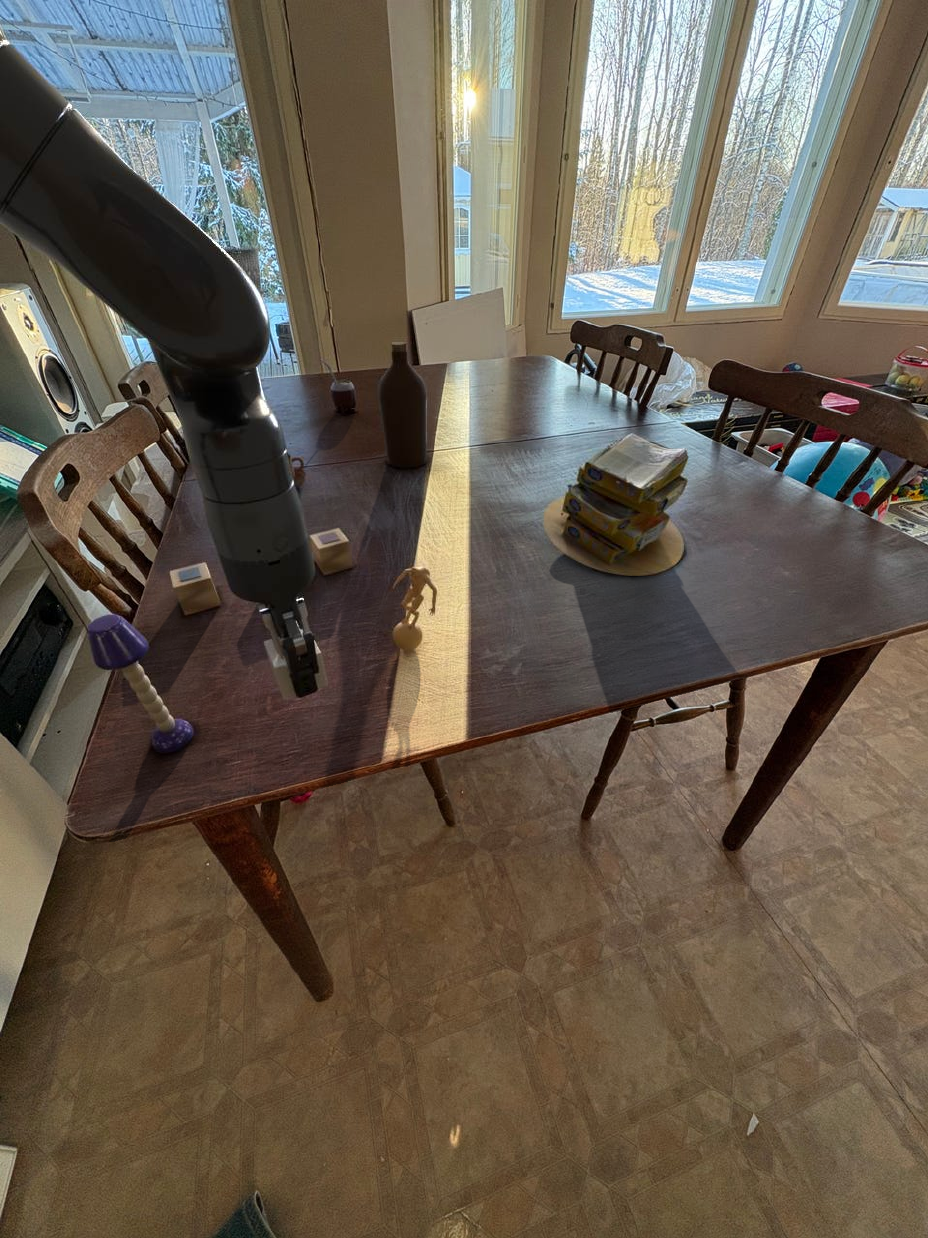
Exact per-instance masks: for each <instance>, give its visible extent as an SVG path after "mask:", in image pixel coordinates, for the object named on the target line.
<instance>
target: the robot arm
mask: <svg viewBox="0 0 928 1238" xmlns="http://www.w3.org/2000/svg"><path fill="white" fill-rule="evenodd" d="M0 225H1V226H3V227H4V228H6V229H7V230H8V231H10V232H11V233H12V234H14V235H15V236H17V237H18V238H19V239H21V240H22V241H24V242H25V243H27V244H28V245H29V246H31V247H32V248H34V249H35V250H37V251H38V252H39V253H41V254H42V255H44V256H46V257H47V258H49V259H50V260H52V261H53V262H55V263H57V264H58V265H59V266H61V267H62V268H63V269H65V270H66V271H67V272H68V273H69V274H70V275H72V276H73V277H74V278H75V279H76V280H77V281H78V282H79V283H81V285H83V286H84V287H85V288H86V289H88V291H89V292H90V293H92V294H93V295H95V296H96V298H98V299H99V301H101V302H102V303H104V304H105V305H106V306H107V307H108V308H109V309H110V310H112V311H113V312H114V313H115V314H116V315H117V316H118V317H120V318H121V319H122V320H124V321H125V322H126V323H127V324H128V325H129V326H130V327H132V328H133V329H134V330H135V331H136V332H138V333H139V334H140V335H141V336H142V337H144V338H145V339H146V340H147V342H148V345H149V347H150V350H151V352H152V355H153V358H154V360H155V363H156V365H157V368H158V370H159V373H160V375H161V378H162V380H163V383H164V384H165V387H166V389H167V392H168V394H169V397H170V399H171V402H172V404H173V406H174V408H175V411H176V413H177V416H178V419H179V423H180V427H181V430H182V434H183V438H184V442H185V448H186V451H187V455H188V459H189V460H190V461H189V462H190V464H191V467H192V470H193V473H194V476H195V479H196V482H197V485H198V489H199V491H200V494H201V499H202V502H203V508H204V513H205V519H206V523H207V525H208V529H209V533H210V534H211V538H212V541H213V544H214V547H215V550H216V552H217V555H218V558H219V561H220V564H221V567H222V571H223V573H224V576H225V579H226V583H227V585H228V588H229V590H230V591H231V593H232V594H233V595H234V596H236V597H237V598H239V599H241V600H243V601H246V602H250V603H255V605H256V608H257V610H258V613H259V614H260V616H261V619H262V623H263V624H264V627H265V628H266V629H268V632H269V634H270V638H271V639H272V641H273V644H274V647H275V649H276V651H277V653H278V654H279V655H283V657H284V660H285V663H286V666H287V667H285V668H286V671H287V672H289V676H290V678H291V681H292V684H293V688H294V691H295V694H296V696H297V697H296V698H298V699H301V698H305V697H307V696H310V695H313V694H315V693H317V692H318V690H319V689H318V687H317V683H316V679H315V674H317V673H319V666H318V662H317V655H316V649H315V643H316V641H315V640H316V638H315V635H314V634H313V633H312V631H311V629H310V625H309V622H308V616H309V613H308V608H307V605H306V603H305V600H304V598H303V597H301V598H300V594H301V593H302V592H303V591H305V590H306V589H307V588H309V586H310V585H311V583H313V581H314V579H315V575H316V567H315V561H314V556H313V551H312V546H311V541H310V537H309V533H308V529H307V528H308V527H307V523H306V518H305V513H304V508H303V504H302V501H301V498H300V496H299V494H298V491H297V488H296V487H295V484H294V480H293V475H292V471H291V466H290V461H289V456H288V454H289V452H288V447H287V444H286V443H287V442H286V439H285V435H284V431H283V429H282V425H281V423H280V420H279V418H278V416H277V414H276V413H275V411H274V410H273V408H272V406H271V405H270V404H269V402H268V399H267V398H266V395H265V391H264V388H263V384H262V380H261V379H262V378H261V376H260V372H259V367H258V366H259V365H260V364H261V363H262V362H263V360H264V358H265V357H266V354H267V352H268V349H269V345H270V343H271V342H270V340H271V322H270V316H269V312H268V309H267V305H266V303H265V301H264V298H263V297H262V296H263V295H262V294H261V292H260V290H259V288H258V287H257V286H256V284H255V283H254V281H253V280H252V278H251V277H250V276H249V274H248V273H246V271H245V270H244V269H243V268H242V267H241V266H240V265H239V263H237V262H236V260H235V259H233V257H231V255H229V254H228V253H227V251H225V250H224V249H223V248H222V247H221V246H220V245H219V244H218V243H217V241H215V240H214V239H212V237H210V236H209V235H208V234H207V233H206V232H205V231H204V230H203V229H201V227H200V226H198V225H197V224H196V223H195V222H194V221H193V220H191V218H189V216H187V215H186V214H185V213H184V212H183V211H181V209H179V208H178V207H177V206H176V205H175V204H173V202H171V201H170V200H169V199H168V198H166V196H164V195H163V194H162V193H161V192H160V191H159V190H157V189H156V188H155V187H154V186H153V185H151V183H149V182H148V181H147V180H146V179H145V178H143V177H142V176H141V175H139V174H138V173H137V172H136V171H135V170H134V169H133V168H132V167H130V165H128V163H126V162H125V161H124V160H123V159H122V158H121V157H120V156H119V155H118V154H117V152H116V151H115V150H114V149H113V148H112V147H111V146H110V145H109V144H108V143H107V141H106V140H105V139H104V138H103V137H102V136H101V134H100V133H99V132H98V131H97V130H96V129H95V128H94V127H93V125H92V124H90V123H89V122H88V120H87V119H86V118H85V117H84V116H83V115H82V113H80V112H79V111H78V109H76V108H72V104H71V103H70V102H69V101H68V100H67V99H66V98H65V97H64V96H63V95H62V94H61V93H60V92H59V91H58V90H57V89H56V88H55V87H54V86H53V85H52V83H50V81H48V80H47V79H46V78H45V77H44V76H43V75H42V74H41V73H40V72H39V71H38V70H37V69H36V68H35V67H34V66H33V65H32V64H31V63H30V62H29V61H28V60H27V59H26V58H25V56H23V55H22V54H21V53H20V52H19V51H18V50H17V49H16V48H15V47H14V46H13V45H12V44H11V43H10V41H8V39H7V38H6V37H4V36H3V34H2V33H0ZM301 630H303V633H301ZM278 637H279V638H280V639H281V638H284V639H283V640H282V641H283V642H280V641H279V638H278ZM289 637H290V638H289ZM285 638H286V639H285ZM314 641H315V642H314Z"/></svg>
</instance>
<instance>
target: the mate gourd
mask: <svg viewBox="0 0 928 1238" xmlns="http://www.w3.org/2000/svg"><path fill="white" fill-rule="evenodd" d="M318 360H319V361H321V362H322V363H323V364H324V365H325V366H326V367H327V369H328V371H329V373H330V375H331V378H332V379H333V381H334V382H332V384H331V387H330V395H331V399H332V402H333V405H334V407H335V410H334V411H335V412H336V413H341V416H345V415H346V414H347V413H357V409H356V407H357V392H356V389H355V386H354V384H353V383H352V382H351V381H350V380H336V377H335V375H334V373H333V370H332V367H331V366H330V365H329V364H328V363H327V362H326V361H324V360H323V359H321V358H319V359H318ZM336 407H337V408H336ZM351 408H355V409H351ZM346 409H347V410H346Z"/></svg>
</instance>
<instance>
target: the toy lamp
mask: <svg viewBox="0 0 928 1238" xmlns="http://www.w3.org/2000/svg"><path fill="white" fill-rule="evenodd" d="M86 634H87V638H88V642H89V647H90V652H91V655H92V659H93V662H94V664H95V665H96V666H97V667H98V668H99V669H101V670H103V671H116V670H117V671H118V670H122V674H123V677H124V678H125V679H126V681H128V682H129V686H130V688H131V689H132V690H133V691H134V692H135V694H136V697H137V699H138V700H139V702H141V703H142V706H143V708H144V710H145V711H147V712H148V714H149V717H150V719H151V720H152V721H153V722H155V726H156V727H155V729H154V731H153V733H152V735H151V745H152V748H153V749H154V750H155V751H156V752H158V753H161V754H170V753H174V752H176V751H179V750H181V749H182V748H184V747H185V746H186V745H187V744H188V743H189V742H190V741H191V739H192V738H193V736H194V733H195V732H194V728H193V727H194V726H193V725H192V724H191V723H189V722H188V721H187V720H185V719H181V718H173V716H172V715H171V714H170V712H169V710H168V708H167V706H166V705H164V702H163V701H164V700H163V699H162V698H161V696H160V695H158V693H157V692H158V691H157V690H156V688H155V687H154V686H153V685H152V684H151V680H150V678H149V677H148V676H147V675H146V674H145V670H144V668H143V666H141V665H140V664H139V661H140V660H141V659H142V658H143V657H144V656H146V654H147V652H148V650H149V642H148V639H146V637H145V636H144V635H143V634H141V633H140V632H139V631H138V630H137V629H136V628H135V627H134V626H133V625H132V624H131V623H130V622H128V621H127V620H126V619H125V618H124V617H123V616H121V615H119V614H116V613H112V614H111V613H110V614H104V615H101V616H99V617H96V618H95V619H94V620H92V621H91V622H90V623H88V625H87V628H86Z"/></svg>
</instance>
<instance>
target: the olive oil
mask: <svg viewBox="0 0 928 1238" xmlns="http://www.w3.org/2000/svg"><path fill="white" fill-rule="evenodd" d="M390 346H391V351H390V353H391V360H392V361H391V365H390V366H389V367H388V368H387V370H386V371H385V373H384V374H383V375H382V377H381V379H380V381H379V382H378V388H377V397H378V403H379V404H378V405H379V410H380V416H381V417H380V418H381V423H382V424H381V425H382V431H383V437H384V445H385V452H386V460H387V463H388V464H389V465H390V466H391V467H394V468H399V469H413V468H418V467H421V466H423V465H425V464H426V463H427V462H428V393H427V387H426V384H425V381H424V379H423V378H422V376H421V375H420V374H419V373H418V372H417V371H416V370H415V368H413V367H412V366H411V364H410V363H409V357H408V356H409V354H408V353H409V352H408V350H407V347H408V346H407V342H405V341H393V342H391V343H390Z"/></svg>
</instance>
